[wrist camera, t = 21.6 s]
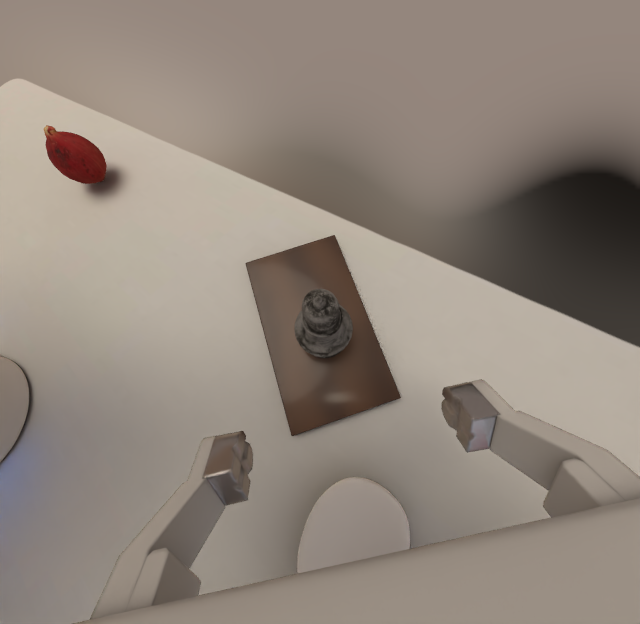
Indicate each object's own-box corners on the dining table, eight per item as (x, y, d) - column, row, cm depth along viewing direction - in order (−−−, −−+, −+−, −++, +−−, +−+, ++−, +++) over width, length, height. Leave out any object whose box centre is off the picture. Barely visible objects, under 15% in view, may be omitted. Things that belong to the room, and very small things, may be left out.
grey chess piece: (320, 372, 27) (312, 359, 16) (288, 331, 29) (259, 293, 17) (361, 338, 28) (380, 302, 17) (327, 300, 30) (324, 244, 18)
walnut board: (293, 434, 27) (291, 436, 26) (247, 266, 33) (245, 262, 32) (398, 397, 27) (401, 397, 26) (334, 239, 33) (334, 234, 32)
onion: (117, 193, 38) (62, 143, 30) (79, 198, 38) (15, 149, 30) (123, 163, 39) (72, 109, 32) (87, 167, 39) (28, 114, 32)
